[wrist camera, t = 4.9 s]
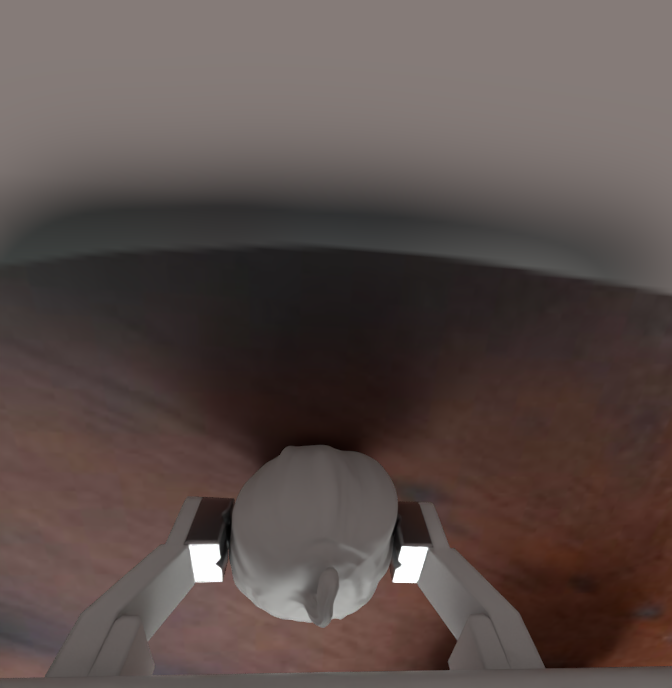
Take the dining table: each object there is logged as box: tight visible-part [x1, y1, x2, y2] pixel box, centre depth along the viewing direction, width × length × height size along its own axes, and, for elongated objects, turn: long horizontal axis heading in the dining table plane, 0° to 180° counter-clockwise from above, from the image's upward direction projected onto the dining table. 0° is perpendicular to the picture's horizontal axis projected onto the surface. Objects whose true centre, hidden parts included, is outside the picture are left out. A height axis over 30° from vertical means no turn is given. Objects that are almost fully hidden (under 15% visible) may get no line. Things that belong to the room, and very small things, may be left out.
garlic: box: [229, 445, 398, 627], centre depth 10 cm, size 6×5×5 cm
